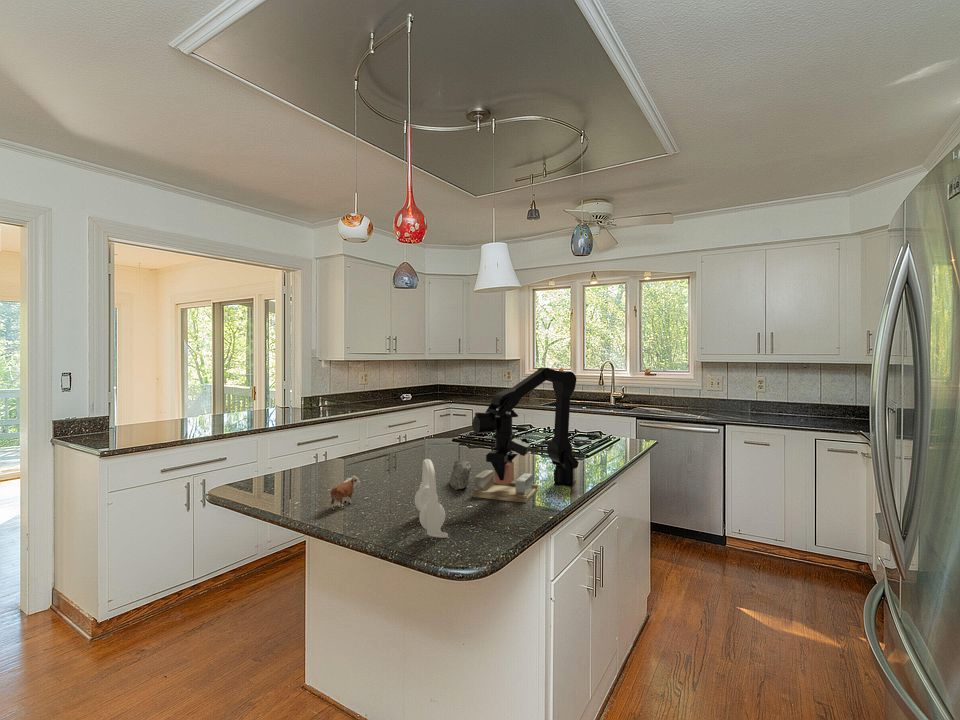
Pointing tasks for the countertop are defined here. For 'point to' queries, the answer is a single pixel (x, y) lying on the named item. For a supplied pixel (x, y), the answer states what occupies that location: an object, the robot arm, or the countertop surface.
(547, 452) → the robot arm
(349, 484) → the bull figurine
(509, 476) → the block
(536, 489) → the vise base
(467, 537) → the countertop surface
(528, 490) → the jaw
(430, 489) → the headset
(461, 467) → the rock
